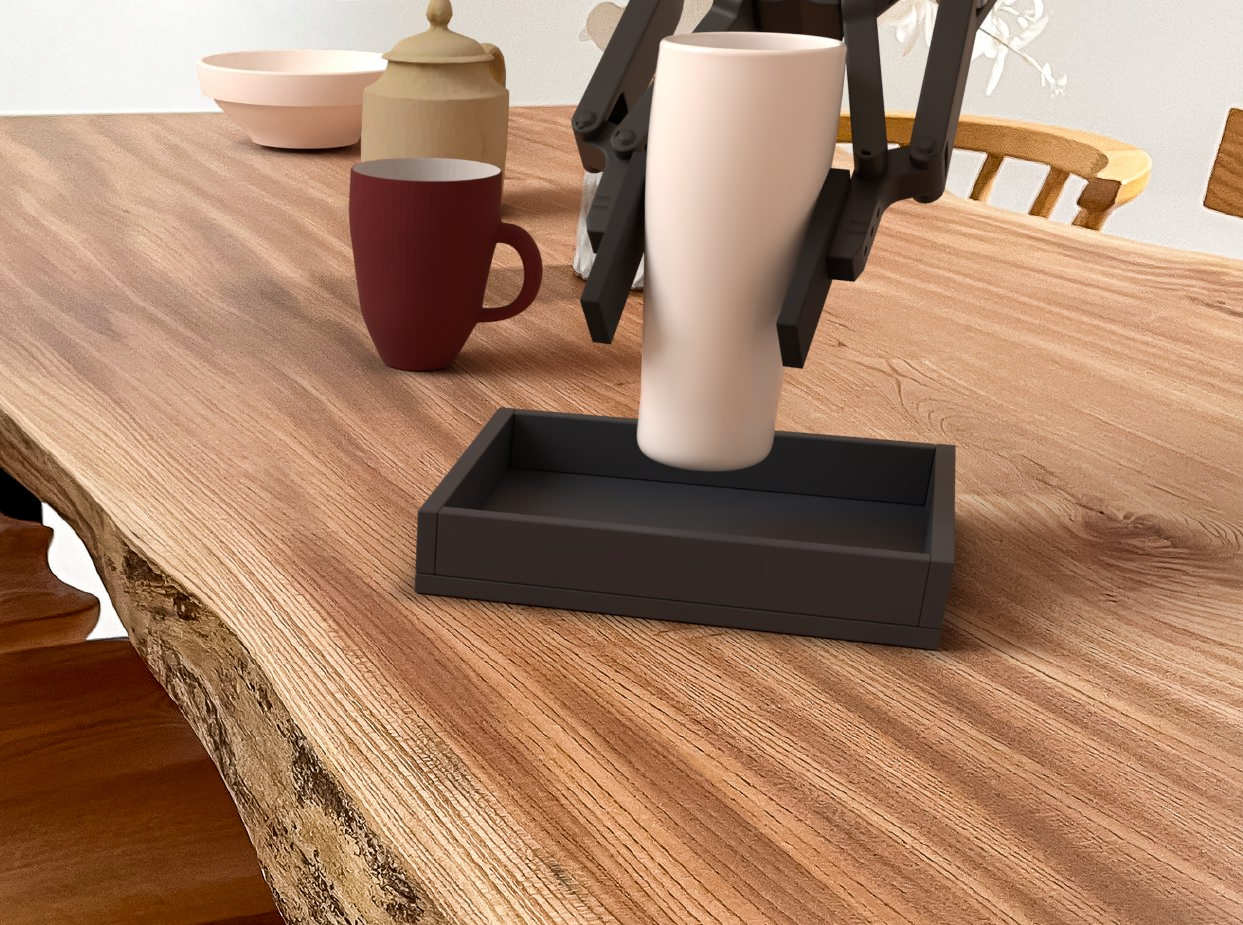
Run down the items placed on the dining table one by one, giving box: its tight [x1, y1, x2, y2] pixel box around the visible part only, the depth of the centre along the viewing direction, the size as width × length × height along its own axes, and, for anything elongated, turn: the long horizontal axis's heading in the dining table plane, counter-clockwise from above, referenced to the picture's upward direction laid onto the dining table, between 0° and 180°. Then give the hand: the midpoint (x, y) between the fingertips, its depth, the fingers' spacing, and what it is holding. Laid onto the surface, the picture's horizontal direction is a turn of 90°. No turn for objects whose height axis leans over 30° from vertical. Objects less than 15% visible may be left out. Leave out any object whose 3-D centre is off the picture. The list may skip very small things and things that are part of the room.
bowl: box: [196, 48, 388, 149], centre depth 172 cm, size 20×20×7 cm
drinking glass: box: [637, 32, 847, 471], centre depth 72 cm, size 7×7×15 cm
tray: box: [413, 406, 957, 650], centre depth 77 cm, size 20×16×3 cm
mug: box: [348, 158, 544, 371], centre depth 102 cm, size 11×8×10 cm
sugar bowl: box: [360, 0, 510, 209], centre depth 144 cm, size 15×11×15 cm
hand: (690, 333), depth 70 cm, fingers closed on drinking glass, 7 cm apart
